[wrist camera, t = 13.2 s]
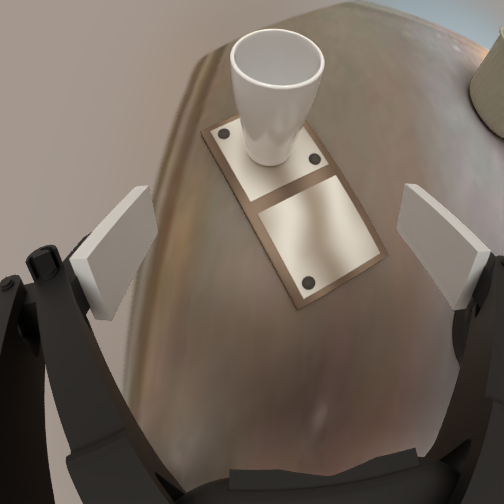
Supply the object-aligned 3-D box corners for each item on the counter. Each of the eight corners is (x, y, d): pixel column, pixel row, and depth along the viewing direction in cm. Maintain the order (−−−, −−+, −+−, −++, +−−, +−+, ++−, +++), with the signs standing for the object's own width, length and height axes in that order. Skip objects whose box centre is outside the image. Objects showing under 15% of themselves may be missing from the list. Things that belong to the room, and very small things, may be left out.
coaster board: (286, 99, 34) (288, 92, 33) (384, 256, 32) (390, 254, 30) (201, 135, 33) (199, 129, 32) (296, 309, 31) (298, 310, 29)
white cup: (310, 150, 32) (345, 63, 17) (266, 186, 31) (276, 105, 16) (270, 113, 32) (278, 18, 17) (226, 144, 32) (209, 53, 17)
